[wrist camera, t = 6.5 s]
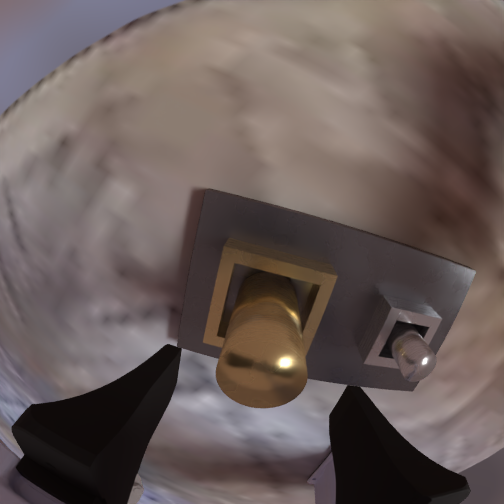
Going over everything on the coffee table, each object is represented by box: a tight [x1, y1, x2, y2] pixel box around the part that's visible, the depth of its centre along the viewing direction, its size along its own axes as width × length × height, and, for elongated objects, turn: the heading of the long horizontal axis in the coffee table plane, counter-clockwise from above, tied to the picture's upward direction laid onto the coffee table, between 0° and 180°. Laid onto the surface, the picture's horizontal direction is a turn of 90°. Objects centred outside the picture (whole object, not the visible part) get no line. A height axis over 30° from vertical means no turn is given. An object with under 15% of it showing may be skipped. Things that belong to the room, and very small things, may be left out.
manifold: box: [177, 189, 476, 391], centre depth 18 cm, size 12×21×6 cm, turn 76°
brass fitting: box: [216, 272, 308, 408], centre depth 16 cm, size 4×4×8 cm
